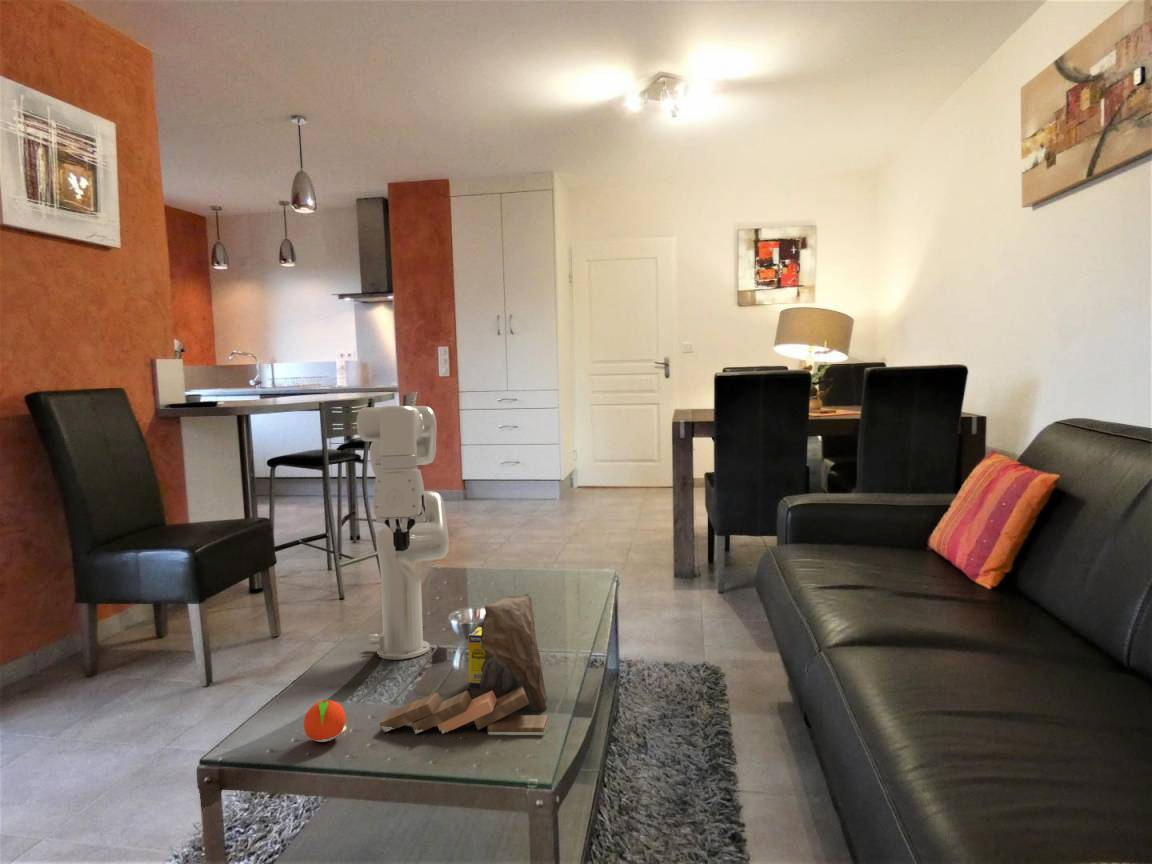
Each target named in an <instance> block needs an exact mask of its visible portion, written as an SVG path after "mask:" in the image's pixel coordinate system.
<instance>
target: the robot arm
mask: <svg viewBox="0 0 1152 864" xmlns="http://www.w3.org/2000/svg"><path fill="white" fill-rule="evenodd" d="M437 427H438V426H437V418H436V414H435V412H434V410H433V409H432V408H431V407H430V406H426V405H387V406H376V407H375V406H374V407H372V406H370V407H368V406H367V407H362V408H361V409H360V410H359V411H358V414H357V417H356V431H357V434H358V436H359V439H361V441H363V442H371V444H370V446H369V459H370V466H371V468H372V469H371V470H372V471H373V474H374V477H375V481H374V487H373V488H374V489H373V515H374V517H376V518H375V522H376V523H377V524H382V525H385V526H384V527H381V528H380V529H379V531H378V532H377V534H376V537H375V544H376V550H377V556H378V563H379V571H380V582H381V583H380V584H381V612H382V615H381V617H382V633H381V634H378V633H377V634H376V633H374V634H373V633H371V634H370V633H369V635H368V644H369V645H378V648H377V649H376V655H377V654H378V655H379V656H378V655H377V656H378V657H379V658H380V657H381V659H385V660H390V661H391V660H394V661H395V660H406V659H412V658H417V657H419V656H422V655H424V654H427V652H429V650H430V643H429V642H428V641H426V640H424V630H423V628H424V627H423V603H422V600H423V599H422V580H421V577H420V575H419V573H418V572H417V570H415V568H413V567H412V566H411V563H415V562H423V561H435V560H441V559H444V557H446V556H447V554H448V553H449V548H450V541H449V539H450V538H449V537H450V536H449V531H448V529H449V528H448V522H447V516H446V507H445V503H444V502H445V501H444V499H443V497H442V495H441V494H440V493H439V492H436V491H431V490H426V491H425V487H424V480H423V476H422V472H421V469H418V466H424V465H429V464H432V463H433V462H434V460H435V458H436V455H437V454H436V453H437V430H438V429H437Z"/></svg>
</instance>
